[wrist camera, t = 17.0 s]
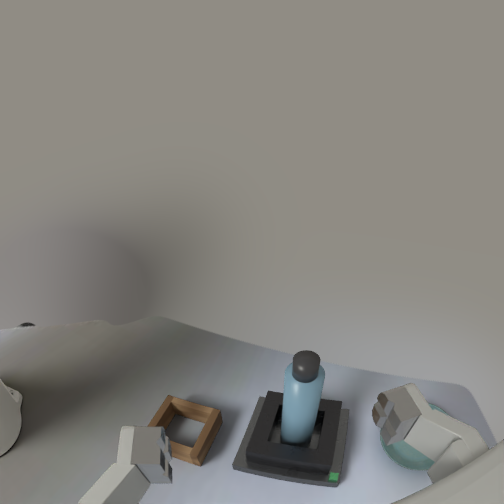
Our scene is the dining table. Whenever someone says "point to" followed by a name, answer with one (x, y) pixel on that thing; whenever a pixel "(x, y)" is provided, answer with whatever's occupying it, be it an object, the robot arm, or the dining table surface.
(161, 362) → the dining table surface
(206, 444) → the wooden square frame
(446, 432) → the robot arm
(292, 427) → the blue bottle
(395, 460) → the saucer
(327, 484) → the port
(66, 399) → the dining table surface
